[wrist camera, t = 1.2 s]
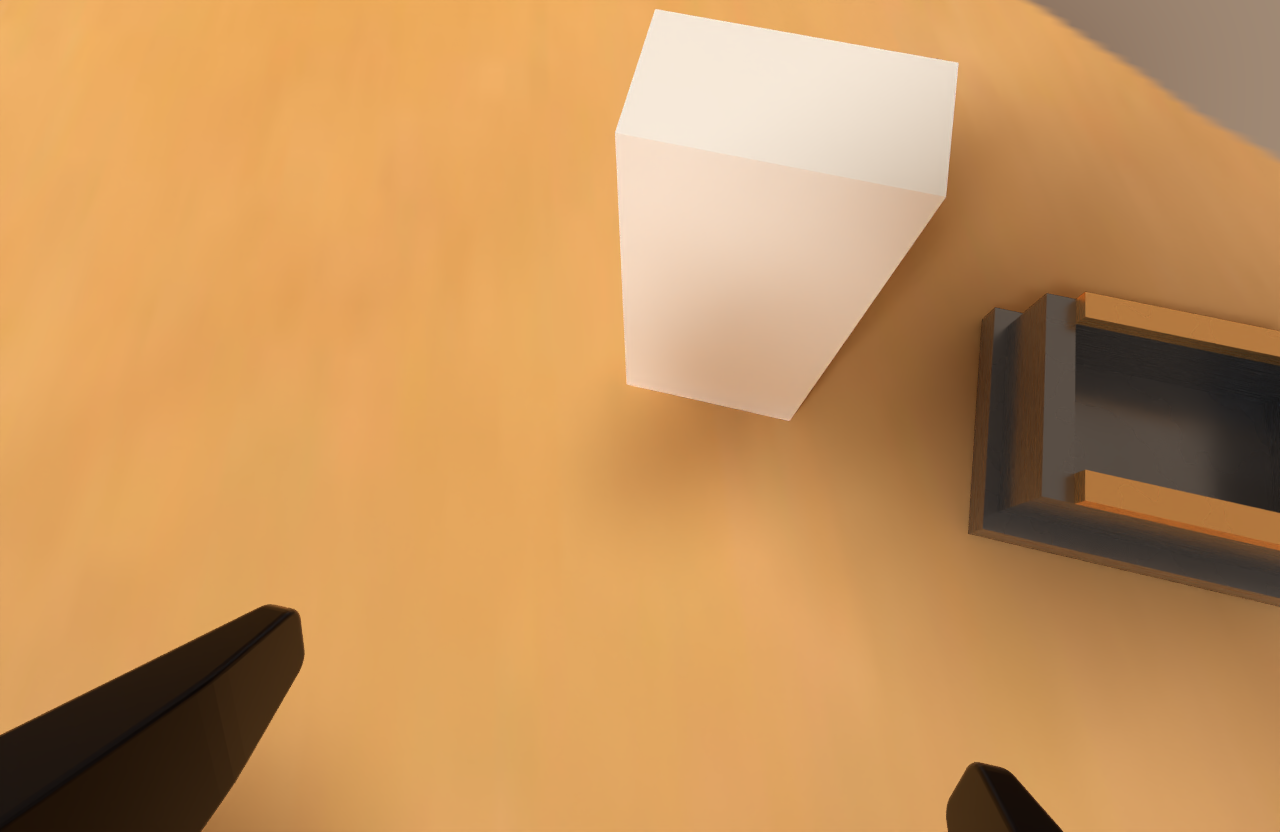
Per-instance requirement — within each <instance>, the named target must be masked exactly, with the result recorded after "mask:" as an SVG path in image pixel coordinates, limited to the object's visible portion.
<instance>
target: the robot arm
mask: <svg viewBox="0 0 1280 832" xmlns="http://www.w3.org/2000/svg"><path fill="white" fill-rule="evenodd" d="M303 660H304V643H303V635H302V627H301V619H300V615H299V613H298V612H297V611H296V610H294V609H291V608H287V607H282V606H278V605H272V604H269V605H264V606H261V607H259V608H257V609H255V610H253V611H251V612H249V613H247V614H245V615H243V616H241V617H239V618H237V619H235V620H233V621H231V622H228V623H226V624H224V625H222V626H220V627H218V628H216V629H214V630H212V631H210V632H208V633H206V634H204V635H202V636H200V637H198V638H196V639H194V640H192V641H190V642H188V643H186V644H184V645H182V646H180V647H178V648H176V649H174V650H172V651H170V652H168V653H166V654H164V655H162V656H160V657H158V658H156V659H153V660H151V661H149V662H147V663H145V664H143V665H141V666H139V667H137V668H135V669H133V670H131V671H129V672H127V673H125V674H123V675H121V676H119V677H117V678H115V679H113V680H111V681H109V682H107V683H105V684H103V685H101V686H99V687H97V688H95V689H93V690H91V691H89V692H87V693H85V694H83V695H81V696H78V697H76V698H74V699H72V700H70V701H68V702H66V703H64V704H62V705H60V706H58V707H56V708H54V709H52V710H50V711H48V712H46V713H44V714H42V715H40V716H38V717H36V718H34V719H32V720H30V721H28V722H26V723H24V724H22V725H20V726H18V727H16V728H14V729H12V730H10V731H8V732H6V733H3V734H1V735H0V832H201V831H202V829H203V828H204V826H205V825H206V824H207V822H208V821H209V819H210V818H211V817H212V815H213V814H214V812H215V811H216V809H217V808H218V807H219V805H220V804H221V802H222V801H223V799H224V798H225V796H226V795H227V793H228V792H229V790H230V789H231V787H232V786H233V784H234V783H235V781H236V780H237V778H238V777H239V775H240V773H241V772H242V770H243V768H244V767H245V765H246V763H247V762H248V760H249V758H250V756H251V755H252V753H253V751H254V749H255V748H256V746H257V744H258V743H259V741H260V739H261V737H262V736H263V734H264V732H265V730H266V729H267V727H268V725H269V723H270V722H271V720H272V718H273V716H274V715H275V713H276V711H277V709H278V708H279V706H280V704H281V703H282V701H283V699H284V697H285V696H286V694H287V692H288V690H289V689H290V687H291V685H292V683H293V682H294V680H295V678H296V676H297V675H298V673H299V671H300V669H301V666H302V664H303ZM946 820H947V828H948V832H1063V831H1062V830H1061V828H1060V827H1059V826H1058V825H1057V824H1056V823H1055V822H1054V820H1053V819H1052V818H1051V817H1050V816H1049V815H1048V814H1047V813H1046V811H1045V810H1044V809H1043V808H1042V807H1041V806H1040V805H1039V803H1038V802H1037V801H1036V800H1035V799H1034V798H1033V797H1032V795H1031V794H1030V793H1029V792H1028V791H1027V790H1026V789H1025V787H1024V786H1023V785H1022V784H1021V783H1020V782H1019V781H1018V780H1017V778H1016V777H1015V776H1014V775H1013V774H1012V773H1010V772H1009V771H1008V770H1006V769H1004V768H1001V767H998V766H993V765H989V764H984V763H980V762H974V763H972V764H970V765H969V766H968V767H967V769H966V771H965V772H964V774H963V776H962V777H961V779H960V781H959V783H958V784H957V786H956V788H955V790H954V791H953V793H952V795H951V796H950V798H949V801H948V804H947V810H946Z"/></svg>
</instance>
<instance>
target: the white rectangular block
mask: <svg viewBox="0 0 1280 832" xmlns="http://www.w3.org/2000/svg"><path fill="white" fill-rule="evenodd" d="M957 74H958V63H957V62H951V61H945V60H940V59H934V58H929V57H923V56H917V55H912V54H906V53H900V52H895V51H889V50H883V49H878V48H872V47H866V46H861V45H855V44H849V43H844V42H838V41H832V40H827V39H821V38H816V37H810V36H804V35H799V34H793V33H787V32H782V31H776V30H770V29H765V28H759V27H753V26H748V25H742V24H736V23H731V22H725V21H719V20H714V19H708V18H703V17H697V16H691V15H686V14H680V13H674V12H669V11H663V10H657V9H655V12H654V15H653V18H652V21H651V24H650V27H649V30H648V33H647V36H646V39H645V42H644V46H643V49H642V52H641V55H640V58H639V61H638V64H637V67H636V70H635V73H634V76H633V79H632V83H631V86H630V89H629V92H628V95H627V98H626V101H625V104H624V107H623V110H622V113H621V116H620V120H619V123H618V126H617V129H616V132H615V140H616V162H617V183H618V205H619V227H620V249H621V270H622V292H623V314H624V336H625V357H626V379H627V385H632V386H636V387H641V388H645V389H650V390H654V391H658V392H663V393H667V394H672V395H676V396H681V397H685V398H689V399H694V400H698V401H703V402H707V403H712V404H716V405H720V406H725V407H729V408H734V409H738V410H743V411H747V412H752V413H756V414H760V415H765V416H769V417H774V418H778V419H783V420H787V421H790V420H791V418H792V417H793V415H794V414H795V413H796V411H797V410H798V408H799V407H800V405H801V404H802V402H803V401H804V400H805V398H806V397H807V395H808V394H809V392H810V391H811V390H812V388H813V387H814V385H815V384H816V382H817V381H818V380H819V378H820V377H821V375H822V374H823V372H824V371H825V370H826V368H827V367H828V365H829V364H830V362H831V361H832V360H833V358H834V357H835V355H836V354H837V352H838V351H839V349H840V348H841V347H842V345H843V344H844V342H845V341H846V339H847V338H848V337H849V335H850V334H851V332H852V331H853V329H854V328H855V327H856V325H857V324H858V322H859V321H860V319H861V318H862V317H863V315H864V314H865V312H866V311H867V309H868V308H869V307H870V305H871V304H872V302H873V301H874V299H875V298H876V297H877V295H878V294H879V292H880V291H881V289H882V288H883V286H884V285H885V284H886V282H887V281H888V279H889V278H890V276H891V275H892V274H893V272H894V271H895V269H896V268H897V266H898V265H899V264H900V262H901V261H902V259H903V258H904V256H905V255H906V254H907V252H908V251H909V249H910V248H911V246H912V245H913V244H914V242H915V241H916V239H917V238H918V236H919V235H920V233H921V232H922V231H923V229H924V228H925V226H926V225H927V223H928V222H929V221H930V219H931V218H932V216H933V215H934V213H935V212H936V211H937V209H938V208H939V206H940V205H941V203H942V202H943V201H944V199H945V198H946V192H947V181H948V170H949V160H950V149H951V138H952V127H953V117H954V106H955V95H956V84H957Z"/></svg>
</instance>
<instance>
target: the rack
mask: <svg viewBox="0 0 1280 832" xmlns="http://www.w3.org/2000/svg"><path fill="white" fill-rule="evenodd" d="M968 534H973V535H977V536H981V537H985V538H990V539H994V540H998V541H1002V542H1007V543H1011V544H1015V545H1020V546H1024V547H1028V548H1032V549H1037V550H1041V551H1045V552H1049V553H1054V554H1058V555H1062V556H1066V557H1071V558H1075V559H1079V560H1083V561H1088V562H1092V563H1096V564H1101V565H1105V566H1109V567H1113V568H1118V569H1122V570H1126V571H1130V572H1135V573H1139V574H1143V575H1147V576H1152V577H1156V578H1160V579H1164V580H1169V581H1173V582H1177V583H1182V584H1186V585H1190V586H1194V587H1199V588H1203V589H1207V590H1211V591H1216V592H1220V593H1224V594H1228V595H1233V596H1237V597H1241V598H1246V599H1250V600H1254V601H1258V602H1263V603H1267V604H1271V605H1275V606H1280V331H1277V330H1272V329H1267V328H1262V327H1257V326H1252V325H1247V324H1242V323H1237V322H1233V321H1228V320H1223V319H1218V318H1213V317H1208V316H1203V315H1198V314H1193V313H1188V312H1183V311H1178V310H1173V309H1168V308H1163V307H1158V306H1153V305H1148V304H1144V303H1139V302H1134V301H1129V300H1124V299H1119V298H1114V297H1109V296H1104V295H1099V294H1094V293H1089V292H1084V293H1083V294H1082V295H1081V296H1079V297H1078V298H1077V299H1072V298H1068V297H1063V296H1058V295H1053V294H1048V293H1047V294H1045V295H1044V296H1043V297H1042V298H1041V299H1039V300H1038V301H1037V302H1036V303H1035V304H1033V305H1032V306H1031V307H1030V308H1029V309H1028V310H1026V311H1025V312H1024V313H1019V312H1015V311H1010V310H1005V309H1000V308H994V309H993V310H992V311H991V312H990V313H989V314H988V315H987V316H985V317H984V318H983V319H982V328H981V343H980V359H979V374H978V390H977V406H976V421H975V437H974V452H973V468H972V484H971V499H970V515H969V530H968Z"/></svg>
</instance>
